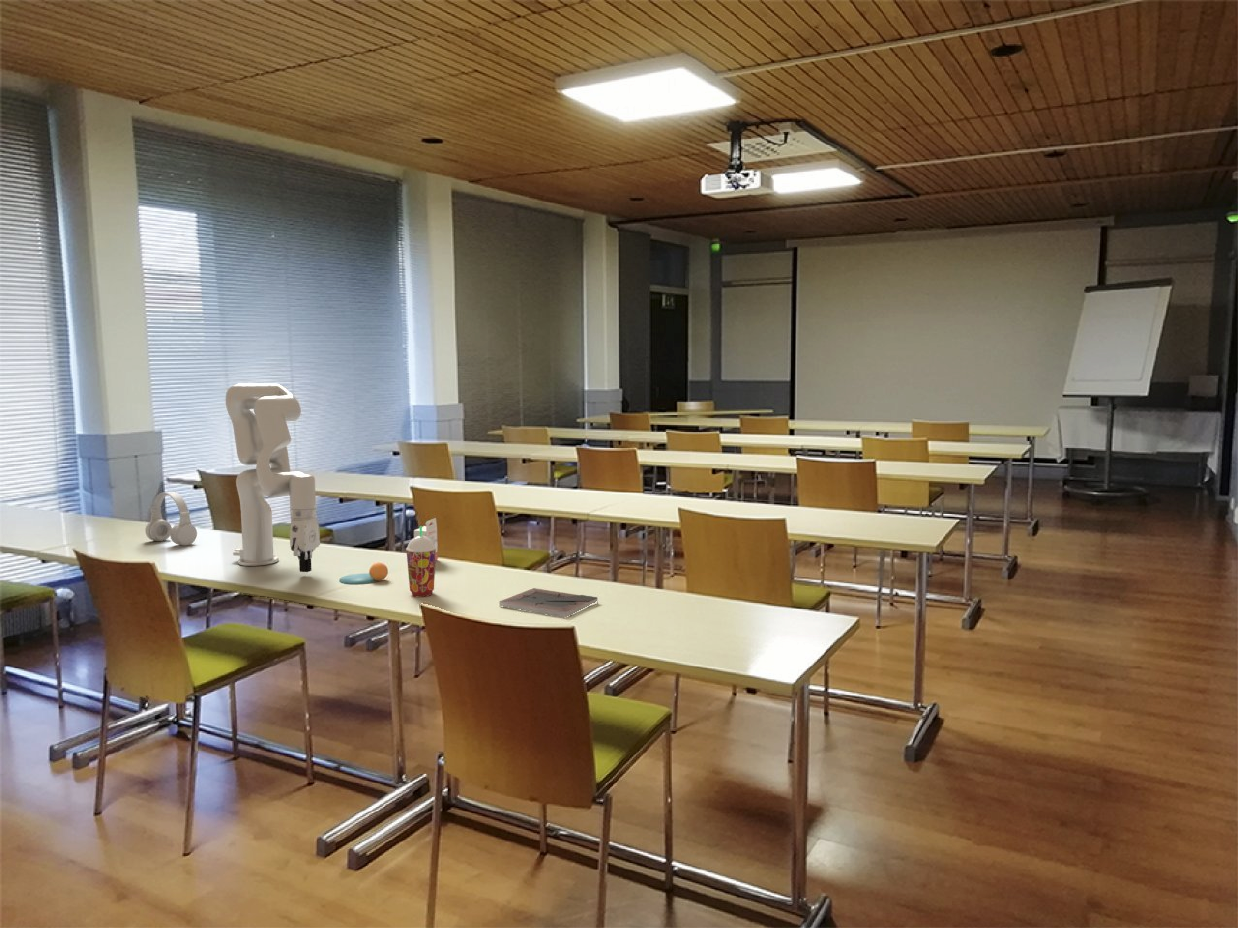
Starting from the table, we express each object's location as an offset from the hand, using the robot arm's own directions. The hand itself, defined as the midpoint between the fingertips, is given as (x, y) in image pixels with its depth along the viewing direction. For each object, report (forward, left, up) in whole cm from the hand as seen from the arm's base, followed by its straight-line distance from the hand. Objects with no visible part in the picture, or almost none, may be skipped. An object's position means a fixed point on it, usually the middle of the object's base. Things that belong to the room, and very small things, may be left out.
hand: (305, 571), depth 266 cm
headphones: (-77, +36, -2) cm, 85 cm away
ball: (+25, 0, +1) cm, 25 cm away
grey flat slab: (+84, -16, -3) cm, 86 cm away
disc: (+19, 0, -2) cm, 19 cm away
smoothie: (+45, -13, -2) cm, 47 cm away
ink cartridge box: (+29, +26, -2) cm, 39 cm away
